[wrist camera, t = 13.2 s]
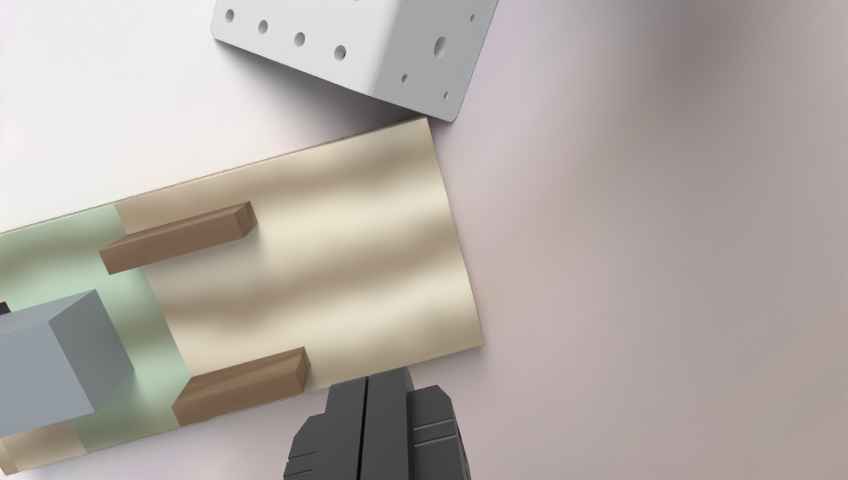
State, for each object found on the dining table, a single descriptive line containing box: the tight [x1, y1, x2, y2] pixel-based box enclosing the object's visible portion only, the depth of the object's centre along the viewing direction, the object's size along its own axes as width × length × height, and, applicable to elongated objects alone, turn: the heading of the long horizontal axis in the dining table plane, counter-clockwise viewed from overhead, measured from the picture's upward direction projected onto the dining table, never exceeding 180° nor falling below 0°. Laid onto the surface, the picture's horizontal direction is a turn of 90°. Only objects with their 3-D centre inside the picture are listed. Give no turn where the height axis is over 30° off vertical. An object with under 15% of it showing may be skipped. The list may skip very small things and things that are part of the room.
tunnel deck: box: [0, 115, 485, 476], centre depth 35 cm, size 16×35×6 cm, turn 105°
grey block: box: [0, 289, 134, 438], centre depth 32 cm, size 6×7×5 cm
